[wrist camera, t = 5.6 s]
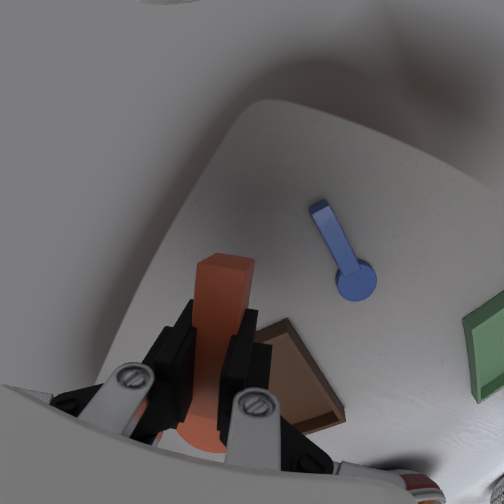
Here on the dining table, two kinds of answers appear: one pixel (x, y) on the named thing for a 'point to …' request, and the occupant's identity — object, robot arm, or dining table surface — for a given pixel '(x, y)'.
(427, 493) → the bowl
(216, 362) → the terracotta spoon
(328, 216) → the blue spoon
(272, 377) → the tray
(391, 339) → the dining table surface
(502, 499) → the planter
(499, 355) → the green tray
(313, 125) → the dining table surface
